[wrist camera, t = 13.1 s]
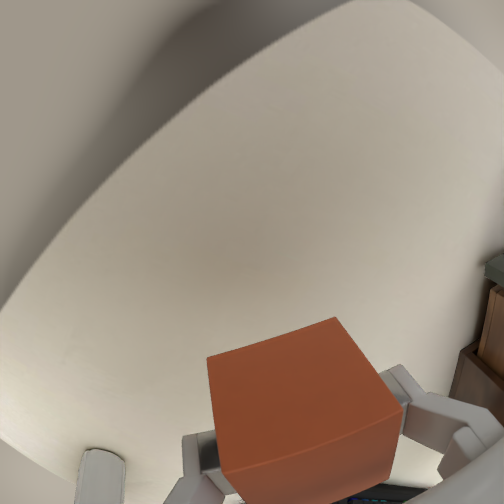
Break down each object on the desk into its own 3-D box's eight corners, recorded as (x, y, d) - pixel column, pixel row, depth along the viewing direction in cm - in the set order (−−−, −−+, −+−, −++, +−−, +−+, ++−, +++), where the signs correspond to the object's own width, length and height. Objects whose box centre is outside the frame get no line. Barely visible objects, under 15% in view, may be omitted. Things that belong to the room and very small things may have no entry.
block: (205, 356, 10) (221, 474, 6) (335, 315, 10) (405, 409, 6) (241, 431, 12) (263, 523, 7) (343, 397, 12) (389, 479, 8)
